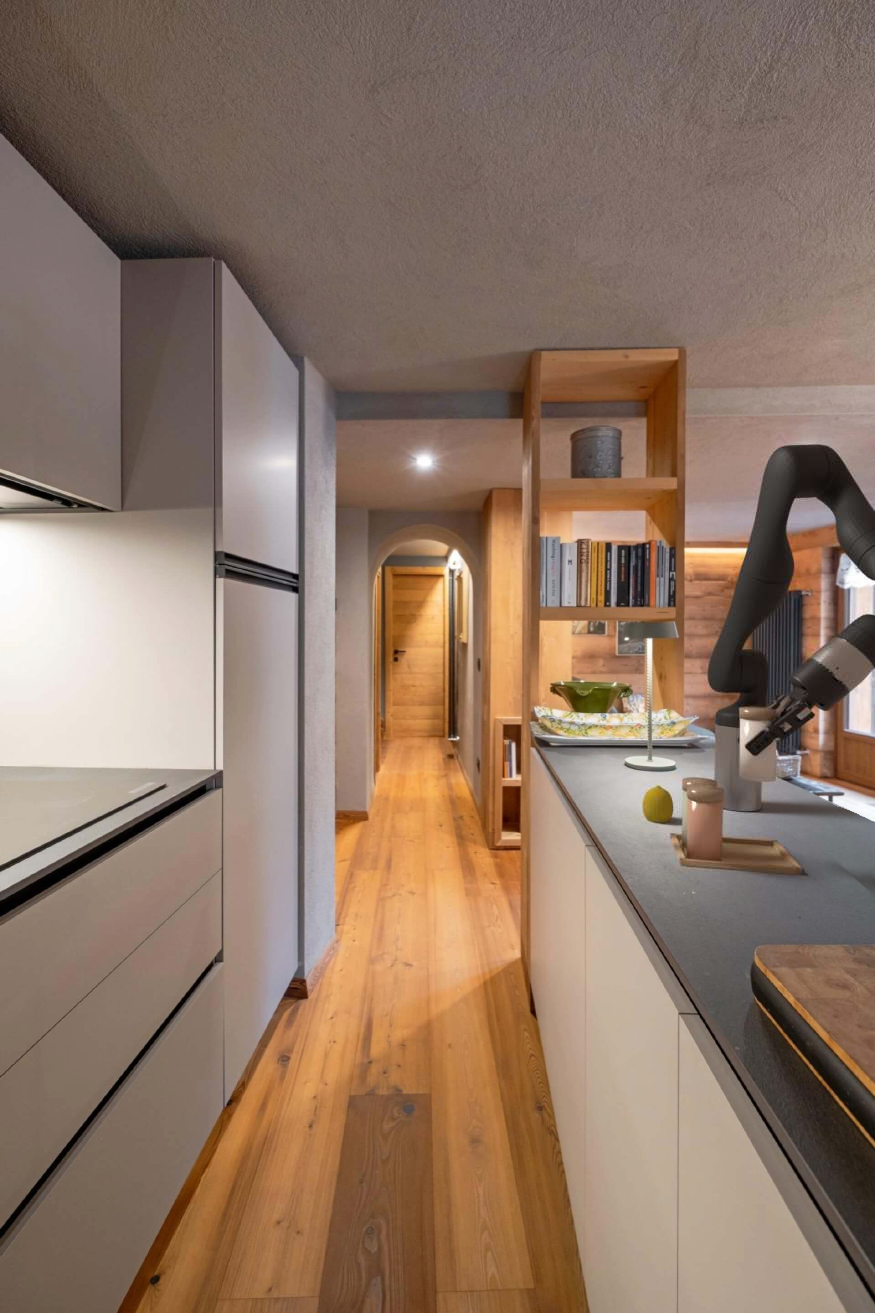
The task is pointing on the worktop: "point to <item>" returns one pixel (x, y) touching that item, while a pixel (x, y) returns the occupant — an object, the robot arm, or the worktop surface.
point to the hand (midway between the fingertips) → (745, 748)
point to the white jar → (764, 762)
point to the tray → (744, 856)
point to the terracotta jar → (704, 822)
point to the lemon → (658, 805)
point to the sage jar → (685, 784)
